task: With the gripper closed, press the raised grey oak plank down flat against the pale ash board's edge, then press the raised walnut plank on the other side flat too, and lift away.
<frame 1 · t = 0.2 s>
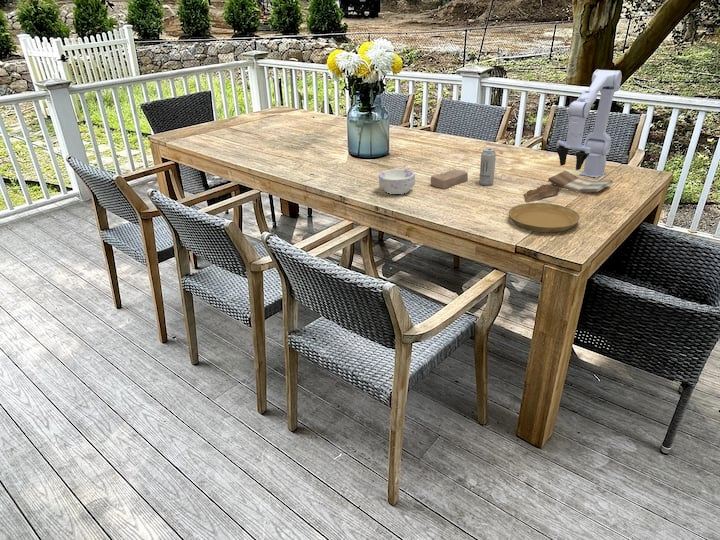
hand: (570, 167, 207), 10 cm above the table, tool pointing down, fingers open, 7 cm apart
grey oak plank: (596, 186, 210), point 2 cm above the table, hinge at 16.4°
energy drink can: (486, 184, 223), on the table
brick: (449, 184, 227), on the table
ash board: (579, 186, 216), on the table
walnut plank: (563, 179, 220), point 2 cm above the table, hinge at 16.1°
paper bowls: (396, 192, 219), on the table
fossil skeleton slab: (541, 195, 210), on the table
plant saucer: (542, 223, 185), on the table
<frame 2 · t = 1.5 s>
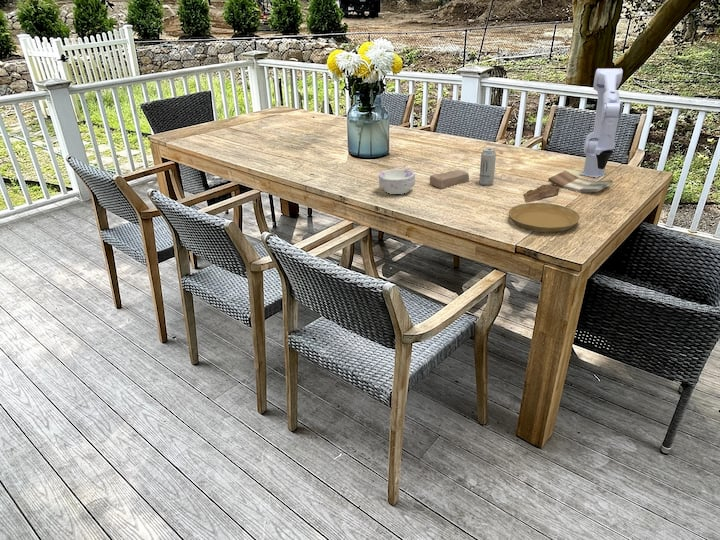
hand: (601, 168, 207), 9 cm above the table, tool pointing down, fingers closed
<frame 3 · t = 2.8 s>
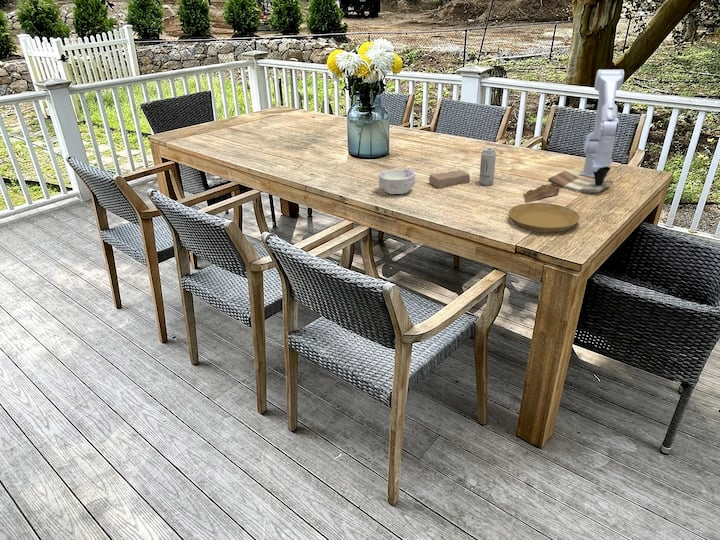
hand: (598, 184, 210), 2 cm above the table, tool pointing down, fingers closed, pressing on grey oak plank
grey oak plank: (596, 186, 210), point 1 cm above the table, hinge at 14.3°, touching gripper
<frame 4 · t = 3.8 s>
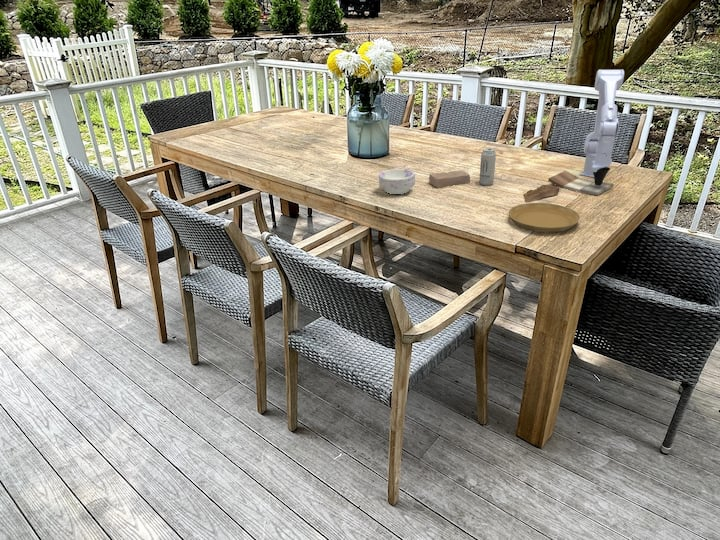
hand: (598, 184, 210), 2 cm above the table, tool pointing down, fingers closed
grey oak plank: (596, 188, 211), point 1 cm above the table, hinge at 3.9°
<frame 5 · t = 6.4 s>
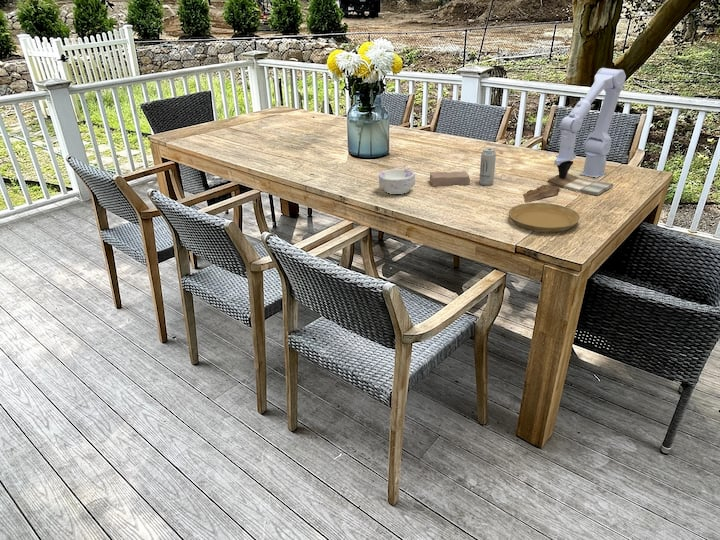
hand: (562, 178, 220), 2 cm above the table, tool pointing down, fingers closed, pressing on walnut plank
walnut plank: (563, 179, 220), point 1 cm above the table, hinge at 10.4°, touching gripper
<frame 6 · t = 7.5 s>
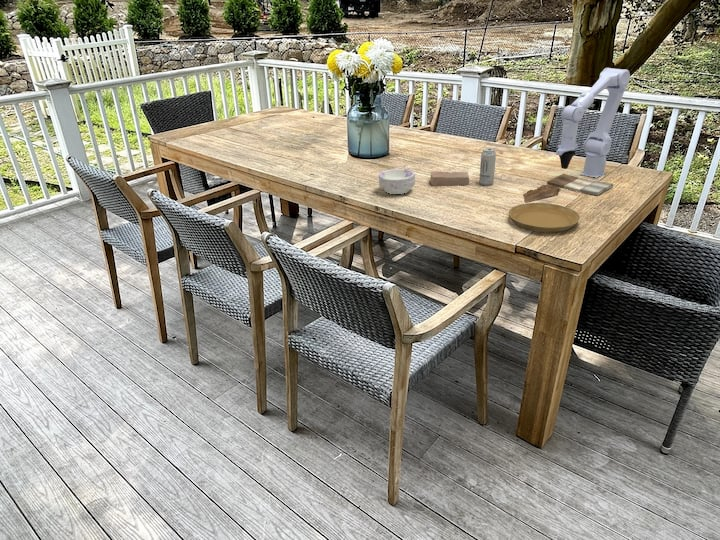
hand: (564, 168, 218), 6 cm above the table, tool pointing down, fingers closed
walnut plank: (562, 180, 220), point 1 cm above the table, hinge at 3.5°
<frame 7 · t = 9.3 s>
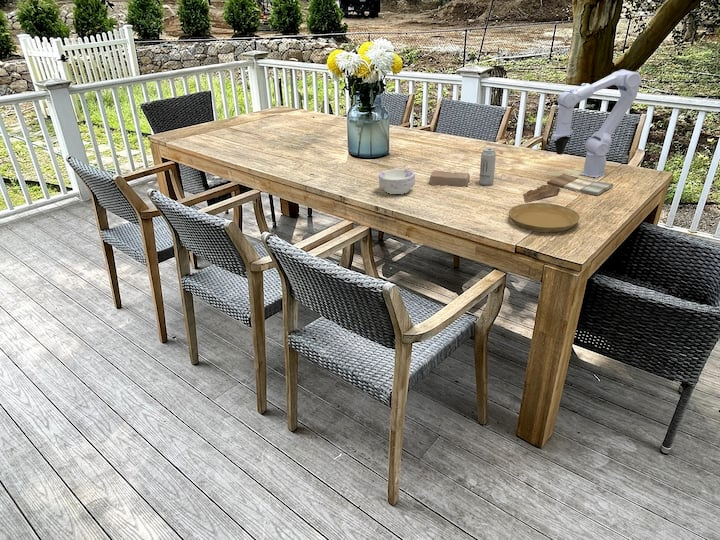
hand: (559, 154, 222), 10 cm above the table, tool pointing down, fingers closed
at the end: grey oak plank at +4° (first picture: +17°); walnut plank at +4° (first picture: +16°) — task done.
